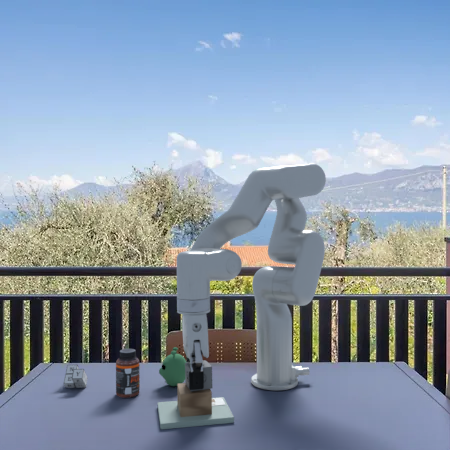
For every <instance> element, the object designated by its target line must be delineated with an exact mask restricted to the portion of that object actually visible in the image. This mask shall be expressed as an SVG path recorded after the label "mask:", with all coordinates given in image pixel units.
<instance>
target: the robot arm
mask: <svg viewBox="0 0 450 450" xmlns="http://www.w3.org/2000/svg"><path fill="white" fill-rule="evenodd" d="M326 179H327V177H326V174H325V170H324V169H323V168H322V167H321V166H320V165H318V164H316V163H304V164H294V165H277V166H269V167H267V166H266V167H259V168H257V169H255V170H254V169H253V171H252V172H251V173H250V174H249V175H248V177H247V178H246V180H245V182H244V184H243V185H242V186H241V188H240V190H239V192H238V194H237V195H236V197H235V199H234V200H233V201H232V204H231V205H230V207H229V208H228V209H227V211H225V212H224V213H222V214H221V215H220V216H218V217H217V218H216V219H215V220H213V221H212V222H211V223H210V224H208V226H206V227H205V228H203V230H202V231H201V232H200V234H199V235H198V236H197V238H196V240H195V241H194V243H193V245H192V247H191V248H190V250H186V251H181V252H179V253H177V256H176V310H177V311H176V313H177V314H179V315H182V317H181V318H182V321H181V322H182V323H181V324H182V330H181V331H182V344H183V350H184V353H185V355H186V356H185V357H186V358H185V360H186V362H190V371H189V389H190V390H198V389H203V388H204V371H203V357H204V358H205V359H208V358H209V356H210V347H209V327H208V326H209V325H208V317H207V316H208V315H207V314H208V313H210V312H211V286H210V285H211V281H214V282H215V281H216V282H217V281H218V282H219V281H220V282H228V281H231V280H233V279H235V278H237V276H239V274H240V272H241V270H242V268H243V267H242V266H243V263H242V259H241V257H240V255H239V254H238V253H236V252H235V251H233V250H232V249H228V248H222V247H223V246H225V245H226V244H227V243H228V242H230V241H231V240H233V239H235V238H238V237H241V236H243V235H247V234H248V233H250V232H252V231H253V230H255V229H257V228H258V226H259V225H260V223H261V222H262V219H263V217H264V216H265V214H266V212H267V210H268V208H269V207H270V205H271V203H272V201H274V202H275V205H276V217H275V220H274V224H273V227H272V231H271V235H270V238H269V242H268V247H267V254H268V257H269V259H270V260H271V261H273V262H274V263H278V264H283V265H284V264H285V265H294V267H286V266H275V265H268V266H263V267H261V268H260V269H258V270H256V272H255V274H254V275H253V278H252V291H253V298H254V302H255V311H256V312H255V313H256V373H254V374H253V375H252V376H251V377H250V381H251V382H250V383H251V384H252V385H253V386H254V387H256V388H258V389H261V390H266V391H285V390H286V391H287V390H290V389H293V388H296V387H297V386H298V385H299V378H298V377H299V376H310V374H311V373H310V368H309V367H302V365H300V366H294V365H293V344H292V343H293V335H292V331H293V328H292V327H293V319H292V313H291V310H290V308H289V306H288V305H290V306H297V307H299V306H301V307H302V306H303V307H304V306H307V305H308V304H310V303H311V302H312V301H313V299H314V296H315V295H316V294H315V293H316V291H317V287H318V284H319V279H320V276H321V271H322V268H323V265H324V264H323V262H324V260H325V259H324V258H325V251H326V250H325V249H326V248H325V247H326V246H325V242H324V239H323V237H322V235H321V234H320V233H319V232H317V231H315V230H311V229H305V228H306V224H307V218H308V214H307V211H306V208H305V206H304V205H303V202H302V201H301V198H307V197H312V196H317V195H319V194H320V193H321V192H323V189H324V188H325V186H326V181H327V180H326ZM193 362H194V363H193Z"/></svg>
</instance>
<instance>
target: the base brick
mask: <svg viewBox="0 0 450 450" xmlns="http://www.w3.org/2000/svg"><path fill="white" fill-rule="evenodd" d="M176 387H177V390H176V391H177V393H176V394H177V400H176V401H177V402H178V409H179V413H180V417H188V416H199V415H210V414H212V398H213V396H212V394H213V393H212V389H205V390H198V391H192V392H191V391H190V389H189V388H188V387H187V385H186V383H185V382H183V383H179V384H177V386H176Z"/></svg>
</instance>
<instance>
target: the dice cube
mask: <svg viewBox="0 0 450 450" xmlns="http://www.w3.org/2000/svg"><path fill="white" fill-rule="evenodd" d="M202 360H203V359H202ZM193 363H194V362H193ZM189 371H190V362H187V363H185V381H184V383H186V385H187V387H188V388H189ZM203 371H204V388H203V389H198V390H205V389H211V390H212V389H213V366H212V365H211V364H210V362H208V361H207V360H203ZM198 390H190V391H191V392H192V391H198Z"/></svg>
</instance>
